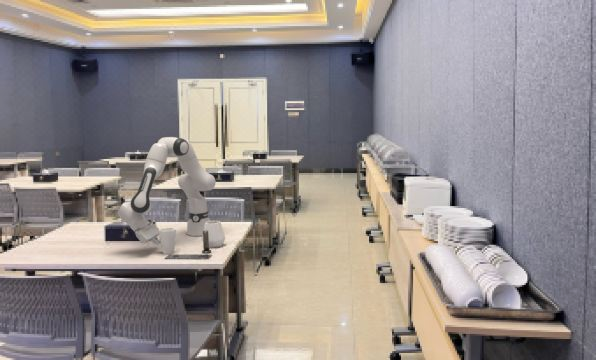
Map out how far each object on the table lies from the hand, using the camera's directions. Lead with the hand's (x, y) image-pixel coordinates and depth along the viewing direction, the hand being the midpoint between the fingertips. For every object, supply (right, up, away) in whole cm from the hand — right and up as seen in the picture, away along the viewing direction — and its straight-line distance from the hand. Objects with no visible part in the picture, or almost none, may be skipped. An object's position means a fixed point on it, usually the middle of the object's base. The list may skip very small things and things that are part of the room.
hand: (159, 243), depth 292 cm
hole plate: (+19, -6, -12) cm, 23 cm away
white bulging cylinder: (+29, -3, +12) cm, 31 cm away
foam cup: (+5, -5, 0) cm, 7 cm away
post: (+27, -4, -3) cm, 27 cm away
